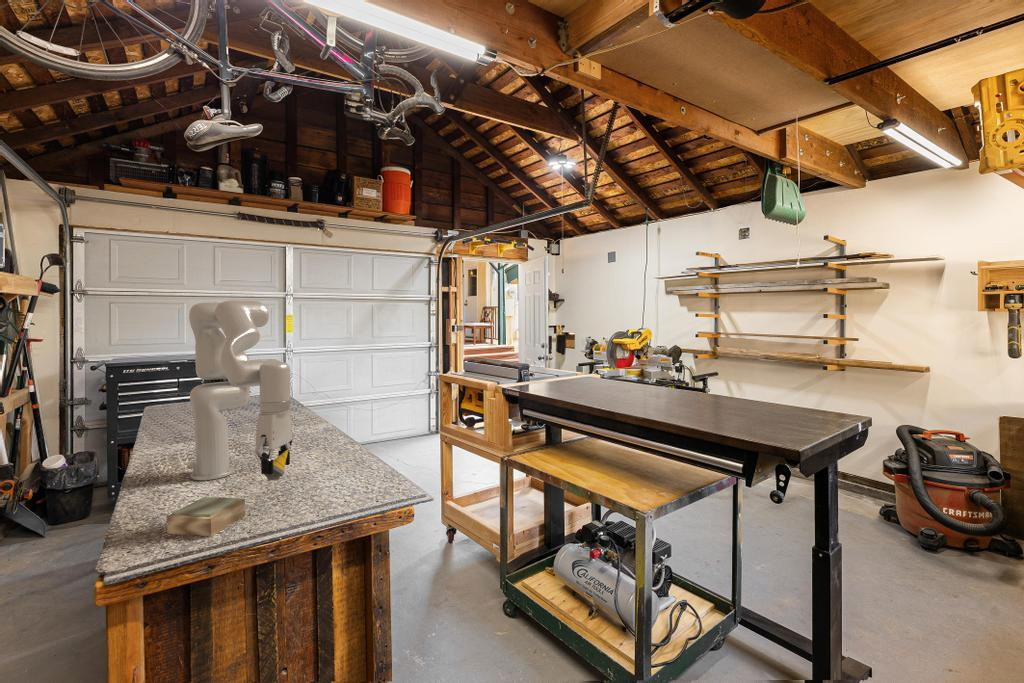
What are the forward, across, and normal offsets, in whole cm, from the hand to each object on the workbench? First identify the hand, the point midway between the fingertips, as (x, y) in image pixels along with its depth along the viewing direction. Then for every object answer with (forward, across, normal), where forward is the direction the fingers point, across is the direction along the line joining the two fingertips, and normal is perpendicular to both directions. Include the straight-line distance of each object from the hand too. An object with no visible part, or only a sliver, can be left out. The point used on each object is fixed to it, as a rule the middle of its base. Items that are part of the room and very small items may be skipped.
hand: (276, 468), depth 126 cm
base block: (+12, +10, -12) cm, 20 cm away
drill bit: (+3, 0, 0) cm, 3 cm away
